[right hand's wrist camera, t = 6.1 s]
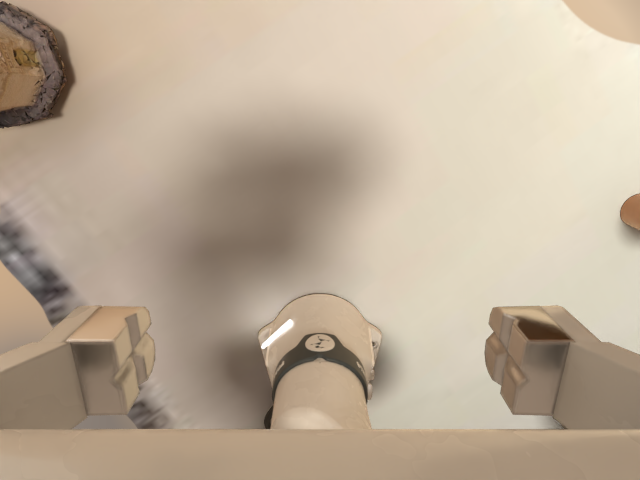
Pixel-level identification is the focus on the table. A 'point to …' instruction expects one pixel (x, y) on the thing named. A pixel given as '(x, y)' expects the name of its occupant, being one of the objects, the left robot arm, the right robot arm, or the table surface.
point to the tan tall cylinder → (631, 212)
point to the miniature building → (27, 68)
